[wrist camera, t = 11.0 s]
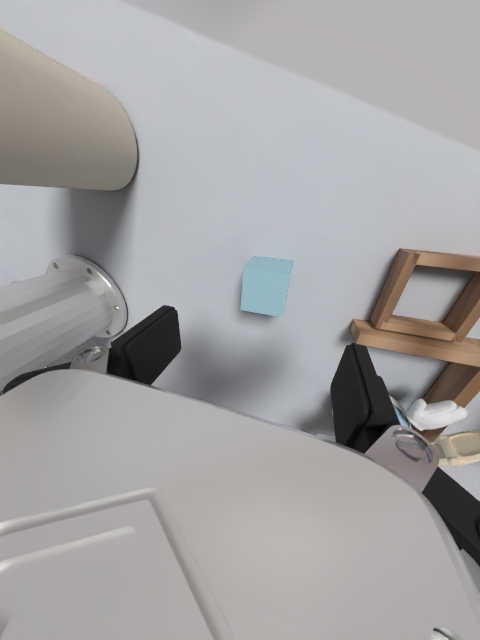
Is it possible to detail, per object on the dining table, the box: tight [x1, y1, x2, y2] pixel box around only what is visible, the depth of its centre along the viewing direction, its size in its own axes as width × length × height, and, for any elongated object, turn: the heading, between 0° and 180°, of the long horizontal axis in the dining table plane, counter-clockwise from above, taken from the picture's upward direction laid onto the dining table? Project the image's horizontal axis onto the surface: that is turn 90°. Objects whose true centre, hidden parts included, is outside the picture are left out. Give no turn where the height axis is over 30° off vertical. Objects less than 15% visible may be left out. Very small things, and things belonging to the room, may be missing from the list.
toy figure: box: [315, 395, 480, 466], centre depth 21 cm, size 17×10×15 cm, turn 139°
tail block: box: [241, 256, 293, 317], centre depth 21 cm, size 4×4×5 cm
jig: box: [350, 249, 480, 442], centre depth 24 cm, size 12×31×3 cm, turn 177°
